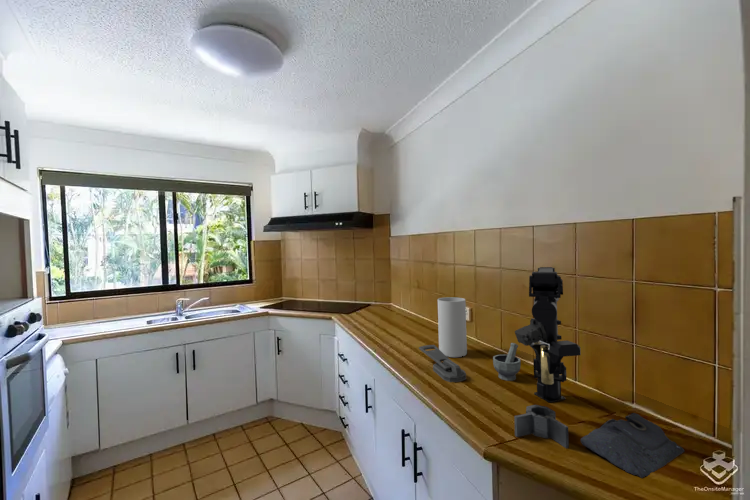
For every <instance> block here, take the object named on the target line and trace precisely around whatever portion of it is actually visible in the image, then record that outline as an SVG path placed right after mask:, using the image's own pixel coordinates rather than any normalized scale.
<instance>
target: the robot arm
mask: <svg viewBox="0 0 750 500" xmlns="http://www.w3.org/2000/svg"><path fill="white" fill-rule="evenodd" d="M528 277H529V279H528V297H530V298H533V305H532V307H531V314H532V317H533V318H530V321H529V323H530V324H528V325H525V326H523V327H520V328H518V329H515V331H514V334H515V337H516V339H517V342H518V343H519V344H522V345H524V346H525V347H526V346H529V347H530V348H532V350H533V352H534V353H535V358H533V361H532V362H533V363H532V364H533V366H532V367H533V378H534V379H537V380H536V381H537V382H536V391H535V392H534V391H533V392H534V394H533V395H535V396H536V397H539V398H540V399H542V400H544V401H546V402H547V403H553V402H559V401H564V400H566V397H565V396H563V395H562V383H565V382H566V381H567V367H566V366H565V364H564V362H563V361H562V360H563V358H564V357H574V356H575V357H577V356H581V346H580V345H579V344H578V343H575V342H573V341H570V340H562V335H560V334H558V333H559V330H558V328H559V327H558V326H560V325H562V321H561V320H558V301H559V300H560V299H561V296H563V295H564V283H563V279H562V277H561V276H560V275H559V274H558V273H557V271H556V270H555V267H553V266H552V267H551V266H539V267H537V271H532V273H531V275H530V274H529V276H528ZM542 345H547V346H549V347H548V350H542V351H543V352H544V353H545V354H546V355H547V363H548V370H549V374H553V380H554V384H552V385H548V384H544V383H542V382H541V347H540V346H542ZM567 382H568V381H567Z"/></svg>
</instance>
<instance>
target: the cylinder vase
mask: <svg viewBox="0 0 750 500" xmlns="http://www.w3.org/2000/svg"><path fill="white" fill-rule="evenodd" d="M466 307H467V306H466V298H462V297H451V296H450V297H438V298H437V318H438V319H437V323H438V324H437V325H438V326H437V328H438V349H439V350H440V351H441V352H442V353H443V354H444V355H445V356H447V357H448V358H462V356H463V357H465V356H466V355H467V354H468V342H467V340H468V339H467V338H468V337H467V308H466Z"/></svg>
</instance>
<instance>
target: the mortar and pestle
mask: <svg viewBox="0 0 750 500" xmlns="http://www.w3.org/2000/svg"><path fill="white" fill-rule="evenodd" d="M518 347H519V344H517V343H515V342H511V343H510V347H509V350H508V353H507V354H496V355H493V356H492V363H493V368H494V370H495V371H496V372H497V373H498V379H501V380H504V381H506V382H507V381H510V382H512V381H516V380H517V376H516V375H517V374H518V373H519V372H520V370H521V366H522V365H521V358H519V357H517V356H516V353H517V349H518Z"/></svg>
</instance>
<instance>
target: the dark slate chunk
mask: <svg viewBox="0 0 750 500" xmlns="http://www.w3.org/2000/svg"><path fill="white" fill-rule="evenodd" d="M624 419H625V420H624ZM624 419H618V420H617V419H615V418H612V419H608V420H607V421H606V422H604V423H603V424H602V425H601V426H600V427H599V428H595V429H593V430H592V431H590V432H589V433H588V434H586V435H584V436H582V437H581V438H580V443H581V445H582V446H583V447H585V448H587V449H589V450H591V451H592V452H593V453H595V454H597V455H599V456H600V457H602V458H604V459H606V460H607V461H608V462H610V464H613V465H614V466H615V467H618V468H619V469H621V470H623V471H624V470H625V471H624V472H625V473H628V474H631V475H633V476H635V475H637V476H636V477H639V478H641V479H644V478H645V476H646V477H649V476H650V475H651V474H652V473H654V472H656V471H658V470H660V469H661V468H663V467H665V466H666V465H668V463H670V462H671V461H673V460H674V459H676V458H677V457H679V456H680V455H682V454H684V453H685V449H684V448H683V447H682V446H680V445H678V444H677V443H676V442H675V441H672V440H671V439H669V438H668V437H667V435H666V434H665V431H664V430H663V429H662V428H661V427H660V426H659V425H658V424H656V423H654V422H652V421H650V420H648V419H646V418H644V417H643V416H641V415H640V414H638V413H636V412H632V413H630V414H628V415H626V416H625V417H624ZM650 473H651V474H650ZM648 475H649V476H648ZM643 477H644V478H643Z"/></svg>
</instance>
